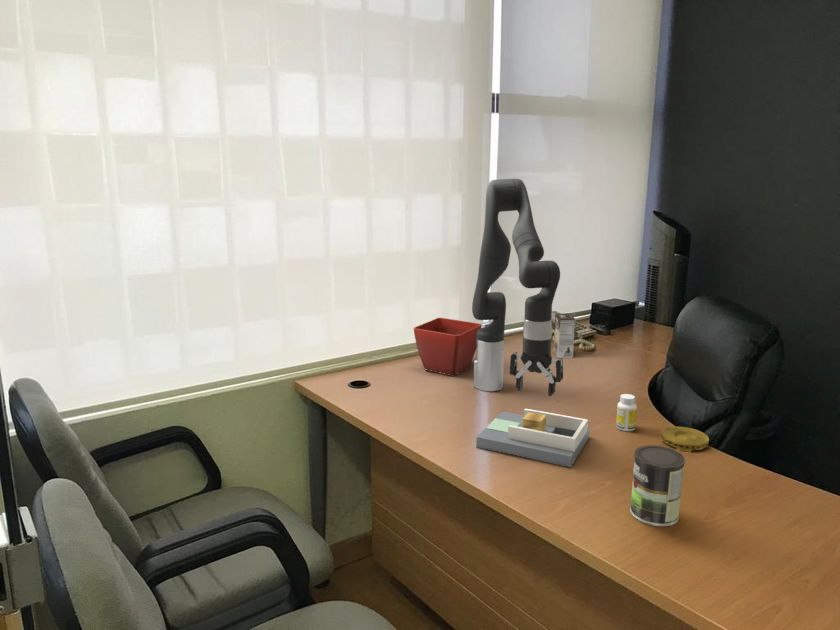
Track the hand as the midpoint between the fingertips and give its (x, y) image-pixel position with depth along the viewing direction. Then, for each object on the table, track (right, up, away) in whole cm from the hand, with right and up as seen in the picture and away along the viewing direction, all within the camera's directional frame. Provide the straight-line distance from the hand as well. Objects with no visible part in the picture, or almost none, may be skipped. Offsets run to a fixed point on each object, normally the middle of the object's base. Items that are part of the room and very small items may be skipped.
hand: (535, 392), depth 171 cm
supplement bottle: (+29, -12, +12) cm, 33 cm away
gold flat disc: (+42, -14, +3) cm, 44 cm away
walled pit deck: (0, -14, +4) cm, 15 cm away
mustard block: (0, -11, +3) cm, 12 cm away
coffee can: (+20, -23, -32) cm, 44 cm away
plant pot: (-21, +1, +65) cm, 68 cm away
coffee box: (+26, +5, +80) cm, 85 cm away
